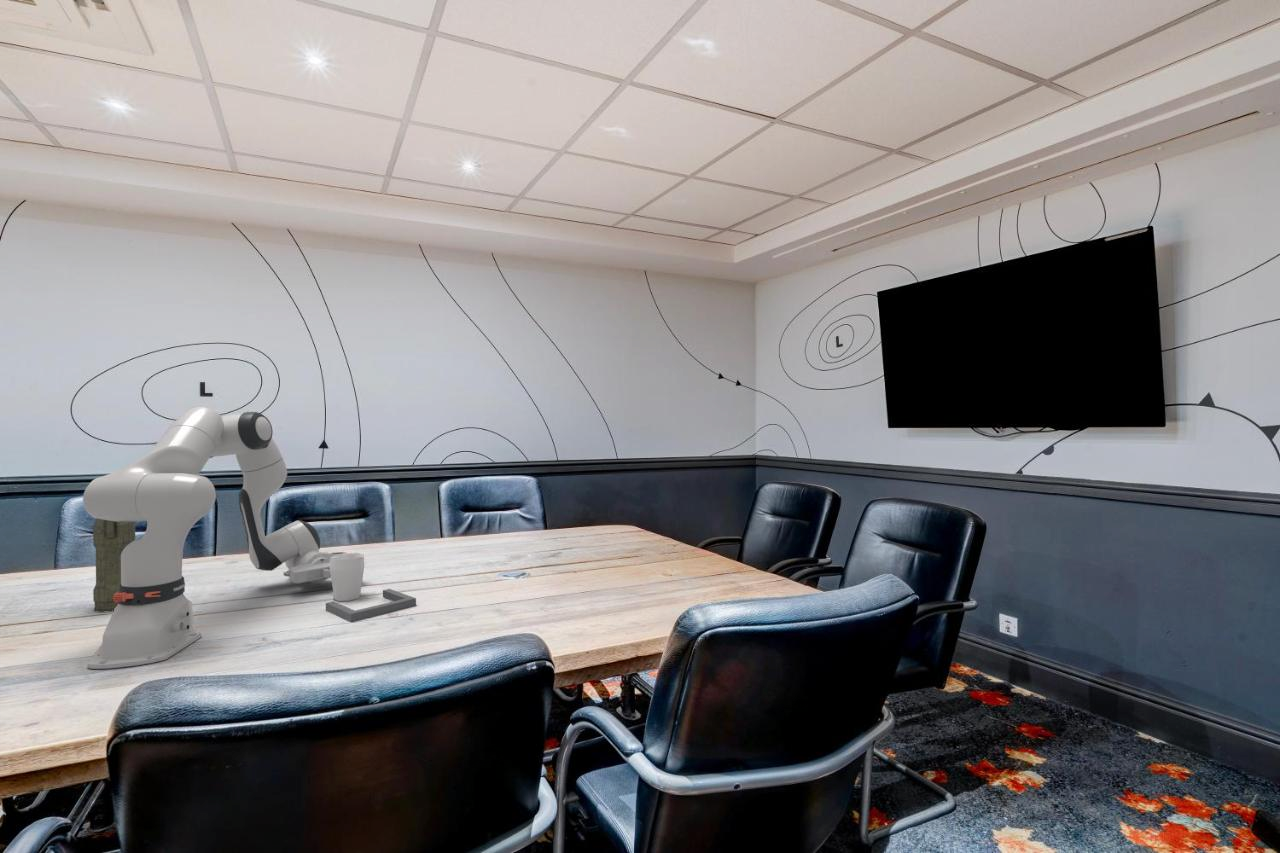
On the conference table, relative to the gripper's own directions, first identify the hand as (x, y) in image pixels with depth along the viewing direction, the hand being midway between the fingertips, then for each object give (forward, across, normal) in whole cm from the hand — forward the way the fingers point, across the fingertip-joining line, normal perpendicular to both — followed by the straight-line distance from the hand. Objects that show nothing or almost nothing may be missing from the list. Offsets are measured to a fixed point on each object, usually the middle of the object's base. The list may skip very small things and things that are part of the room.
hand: (338, 574), depth 181 cm
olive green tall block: (-34, -45, +6) cm, 56 cm away
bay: (+20, 0, +6) cm, 21 cm away
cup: (+6, 0, +6) cm, 8 cm away
